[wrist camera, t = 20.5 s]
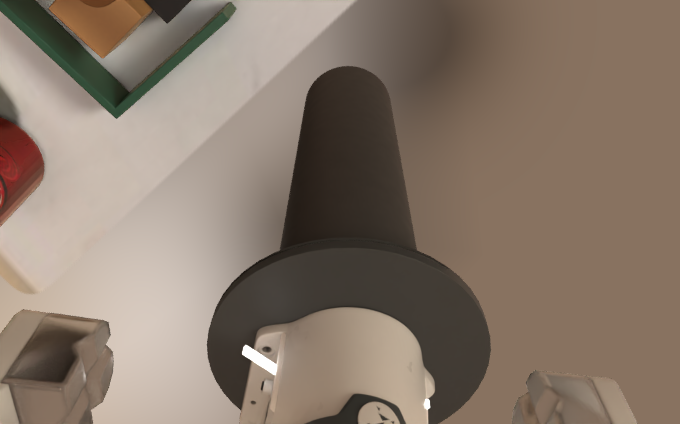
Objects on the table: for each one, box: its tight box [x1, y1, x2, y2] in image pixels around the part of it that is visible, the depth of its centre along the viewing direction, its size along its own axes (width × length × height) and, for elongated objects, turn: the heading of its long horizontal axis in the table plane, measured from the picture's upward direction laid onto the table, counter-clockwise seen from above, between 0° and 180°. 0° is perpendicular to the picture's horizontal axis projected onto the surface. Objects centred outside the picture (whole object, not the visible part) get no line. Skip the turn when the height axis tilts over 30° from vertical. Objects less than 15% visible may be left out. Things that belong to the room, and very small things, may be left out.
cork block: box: [49, 0, 153, 58], centre depth 35 cm, size 4×4×4 cm
